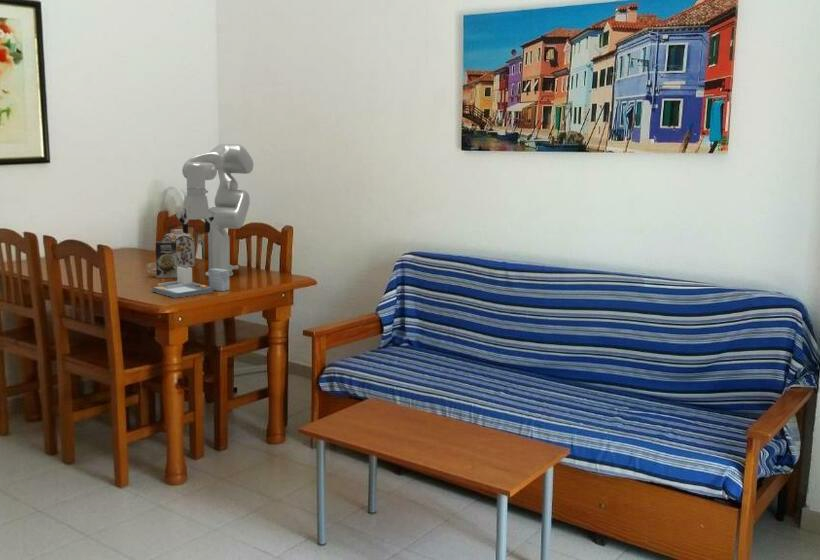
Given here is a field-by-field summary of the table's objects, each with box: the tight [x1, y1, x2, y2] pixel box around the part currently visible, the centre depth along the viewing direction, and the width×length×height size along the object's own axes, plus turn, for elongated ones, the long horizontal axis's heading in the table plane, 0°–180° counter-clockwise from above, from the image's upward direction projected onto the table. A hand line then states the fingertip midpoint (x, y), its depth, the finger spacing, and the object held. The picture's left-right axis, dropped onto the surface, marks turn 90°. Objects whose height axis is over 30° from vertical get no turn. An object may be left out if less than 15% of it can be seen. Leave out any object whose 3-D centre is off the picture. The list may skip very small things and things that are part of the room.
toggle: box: [176, 265, 193, 284], centre depth 340 cm, size 4×5×8 cm
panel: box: [151, 280, 214, 299], centre depth 335 cm, size 18×17×3 cm
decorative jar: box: [161, 228, 196, 268], centre depth 392 cm, size 12×12×18 cm
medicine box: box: [208, 268, 230, 292], centre depth 342 cm, size 8×4×9 cm, turn 59°
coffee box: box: [155, 240, 177, 279], centre depth 366 cm, size 9×6×16 cm
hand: (196, 232), depth 344 cm, fingers open, 9 cm apart
